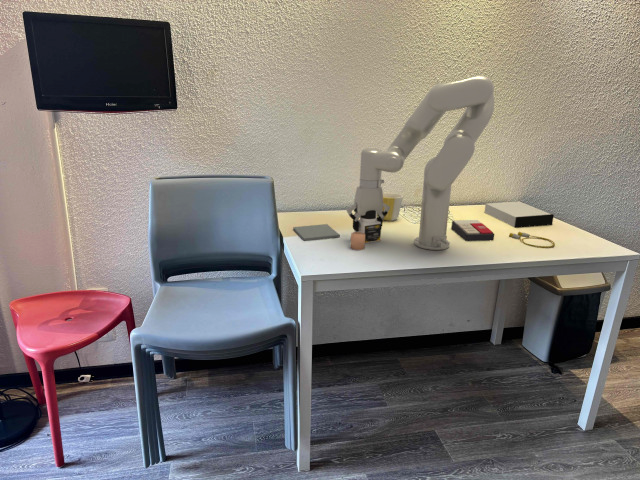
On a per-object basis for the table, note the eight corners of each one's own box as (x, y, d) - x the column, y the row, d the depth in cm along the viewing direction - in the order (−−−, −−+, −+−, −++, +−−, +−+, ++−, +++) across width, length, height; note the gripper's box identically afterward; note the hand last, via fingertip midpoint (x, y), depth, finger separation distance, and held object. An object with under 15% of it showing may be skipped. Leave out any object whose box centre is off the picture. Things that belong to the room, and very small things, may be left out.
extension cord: (533, 234, 193) (534, 229, 192) (561, 248, 179) (562, 243, 178) (506, 236, 190) (507, 231, 189) (532, 250, 176) (533, 245, 175)
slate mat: (339, 237, 185) (339, 234, 184) (304, 241, 180) (304, 238, 180) (326, 226, 197) (326, 224, 197) (293, 229, 192) (293, 227, 192)
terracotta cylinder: (367, 249, 173) (367, 235, 172) (353, 250, 172) (354, 237, 170) (361, 244, 178) (361, 231, 176) (348, 246, 176) (348, 232, 174)
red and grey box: (467, 232, 182) (452, 219, 196) (465, 243, 183) (450, 229, 197) (495, 232, 183) (478, 218, 197) (493, 242, 185) (476, 228, 198)
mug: (394, 214, 214) (395, 191, 211) (405, 221, 205) (407, 197, 202) (365, 217, 210) (366, 193, 206) (375, 224, 201) (377, 199, 197)
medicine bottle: (364, 243, 178) (365, 211, 174) (354, 237, 184) (355, 206, 180) (380, 241, 182) (382, 209, 178) (370, 235, 188) (371, 204, 184)
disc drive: (515, 229, 199) (517, 217, 198) (483, 213, 220) (485, 202, 218) (552, 226, 204) (554, 214, 202) (517, 211, 224) (519, 200, 223)
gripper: (387, 180, 182) (384, 224, 188) (343, 182, 177) (341, 228, 182) (396, 184, 175) (393, 230, 181) (351, 187, 170) (349, 234, 176)
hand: (367, 229), depth 182 cm, fingers open, 8 cm apart
